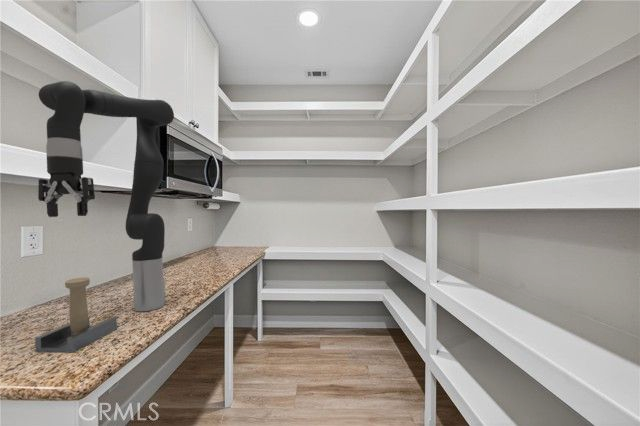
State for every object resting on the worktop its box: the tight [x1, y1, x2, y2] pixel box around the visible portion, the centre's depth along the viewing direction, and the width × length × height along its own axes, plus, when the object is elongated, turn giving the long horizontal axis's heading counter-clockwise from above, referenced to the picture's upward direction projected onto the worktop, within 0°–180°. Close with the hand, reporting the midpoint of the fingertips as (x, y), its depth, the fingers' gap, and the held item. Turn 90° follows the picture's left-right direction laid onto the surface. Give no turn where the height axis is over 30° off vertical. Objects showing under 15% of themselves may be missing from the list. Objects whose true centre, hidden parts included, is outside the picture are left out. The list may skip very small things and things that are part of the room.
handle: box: [64, 276, 90, 336], centre depth 80 cm, size 5×6×15 cm
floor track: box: [34, 316, 118, 353], centre depth 80 cm, size 14×10×4 cm
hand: (67, 216), depth 82 cm, fingers open, 8 cm apart
